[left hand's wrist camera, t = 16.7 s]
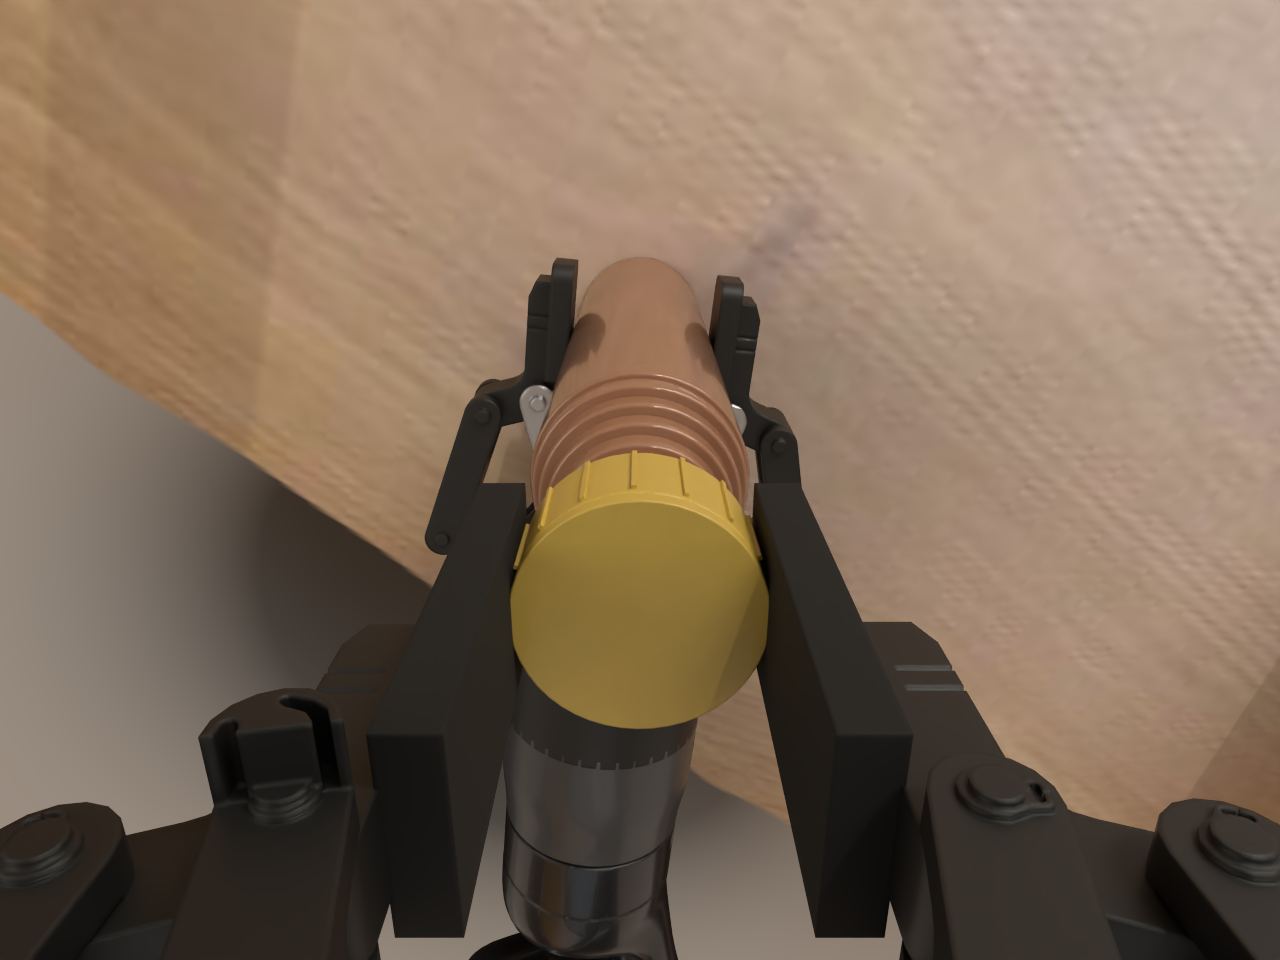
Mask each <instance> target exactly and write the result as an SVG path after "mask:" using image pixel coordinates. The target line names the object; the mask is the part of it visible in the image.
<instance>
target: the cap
mask: <svg viewBox="0 0 1280 960" xmlns="http://www.w3.org/2000/svg"><path fill="white" fill-rule="evenodd" d="M761 560H763V557H762V554H761V550H760V547H759V543H758V540H757V536H756V533H755V530H754V526H753V523H752V519H751V517H750V515H748V516H746V515H745V513H744V511H743V509H742V507H741V506H740V504H739V503H738V501H737V500H736V498H735V497H734V496H733V495H732V494H731V492H730V491H729V490H728V489H727V487H726V483H725V482H724V481H723V480H721V481H720V482H719V481H718V480H717V479H716V478H715V477H713V476H712V475H710V474H709V473H707V472H706V471H704V470H703V469H701V468H699V467H697V466H695V465H693V464H691V463H688V462H686V461H685V458H683V457H680V459H677V458H674V457H669V456H664V455H660V454H653V453H637V450H633V451H632V453H628V454H621V455H613V456H609V457H606V458H603V459H600V460H596V461H594V462H592V463H590V461H587V462H585V464H584V466H582V467H581V468H579V469H577V470H575V471H574V472H572V473H571V474H569V475H568V476H566V477H565V478H564V479H563V480H561V481H560V482H559V483H558V484H556V485H555V487H554V488H552V487H549V488H548V489H547V492H546V496H545V498H544V499H543V501H542V502H541V503H540V505H539V506H538V508H537V510H536V512H535V514H534V516H533V517H532V520H531V522H530V524H526V525H525V528H524V532H523V535H522V539H521V542H520V546H519V549H518V552H517V556H516V559H515V563H514V566H513V569H515V570H516V573H515V577H514V580H513V584H512V587H511V592H510V602H511V618H512V634H513V646H514V649H515V652H516V654H517V656H518V659H519V661H520V663H521V664H522V666H523V668H524V669H525V671H526V672H527V674H528V675H529V677H530V678H531V679H532V680H533V682H534V683H535V684H536V685H537V687H539V688H540V689H541V690H542V691H543V692H544V693H545V694H546V695H547V696H548V697H549V698H551V699H552V700H553V701H555V702H556V703H557V704H559V705H560V706H561V707H563V708H565V709H567V710H568V711H570V712H572V713H574V714H576V715H578V716H580V717H583V718H585V719H587V720H590V721H593V722H597V723H600V724H603V725H608V726H613V727H619V728H630V729H651V728H660V727H666V726H672V725H675V724H679V723H683V722H686V721H689V720H692V719H694V718H697V717H699V716H701V715H703V714H705V713H707V712H709V711H711V710H713V709H715V708H716V707H718V706H719V705H721V704H722V703H724V702H725V701H727V700H728V699H729V698H730V697H731V696H732V695H733V694H735V693H736V692H737V691H738V690H739V689H740V688H741V687H742V686H743V684H744V683H745V682H746V681H747V680H748V679H749V677H750V676H751V674H752V673H753V671H754V670H755V668H756V667H757V665H758V663H759V661H760V659H761V657H762V655H763V653H764V651H765V648H766V640H767V625H768V609H769V590H768V587H767V583H766V579H765V576H764V572H763V569H762V565H761V562H760V561H761Z"/></svg>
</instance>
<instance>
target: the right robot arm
mask: <svg viewBox="0 0 1280 960" xmlns="http://www.w3.org/2000/svg"><path fill="white" fill-rule="evenodd" d="M577 275H578V260H575V259H565V258H556V260H555V261H554V263H553V267H552V274H551V275H540V276H539V278H538V279H537V280H536V282H535V284H534V286H533V289H532V291H531V293H530V295H529V300H528V319H527V338H526V356H525V371H524V372H523V373H522V374H520V375H519V376H517V377H514V378H510V379H506V380H502V381H500V380H497V379H489V380H486V381H484V382H483V383H482V384H481V385H480V386H479V388H478V389H477V391H476V393H475V396H474V398H473V399H471V400H470V402H469V403H468V405H467V406H466V408H465V411H464V414H463V417H462V421H461V424H460V427H459V430H458V433H457V436H456V439H455V442H454V446H453V449H452V452H451V455H450V458H449V461H448V464H447V467H446V471H445V474H444V477H443V480H442V483H441V486H440V489H439V493H438V496H437V499H436V502H435V505H434V508H433V511H432V514H431V518H430V521H429V524H428V527H427V530H426V533H425V542H426V545H427V546H428V548H429V549H430V550H431V551H433V552H435V553H437V554H441V555H447V554H448V553H449V550H450V548H451V546H452V544H453V542H454V539H455V537H456V535H457V533H458V531H459V528H460V526H461V524H462V522H463V520H464V517H465V515H466V513H467V511H468V509H469V506H470V504H471V502H472V500H473V498H474V495H475V493H476V491H477V489H478V487H479V484H480V483H483V481H484V478H485V475H486V472H487V469H488V466H489V463H490V460H491V457H492V454H493V451H494V448H495V445H496V442H497V439H498V436H499V433H500V430H501V428H502V426H506V425H510V424H514V423H519V422H523V421H524V422H525V425H526V429H527V432H528V436H529V439H530V442H531V446H532V449H534V445H535V442H536V439H537V436H538V433H539V430H540V427H541V424H542V421H543V418H544V415H545V412H546V409H547V406H548V404H549V401H550V398H551V395H552V392H553V389H554V386H555V383H556V380H557V377H558V374H559V371H560V368H561V365H562V362H563V359H564V356H565V353H566V350H567V347H568V344H569V341H570V338H571V336H572V333H573V329H574V316H575V302H576V289H577ZM743 294H744V285H743V282H742V281H741V280H740V278H739V277H731V276H721V275H718V277H717V280H716V286H715V293H714V301H713V308H712V316H711V323H710V330H709V340H710V343H711V346H712V349H713V352H714V355H715V358H716V361H717V364H718V367H719V370H720V372H721V375H722V378H723V381H724V384H725V387H726V390H727V393H728V396H729V399H730V402H731V405H732V408H733V411H734V414H735V417H736V420H737V423H738V426H739V429H740V432H741V435H742V438H743V441H744V444H745V446H747V447H749V448H751V449H754V450H755V453H756V462H757V470H758V479H759V483H799V484H800V486H801V477H800V466H799V456H798V446H797V440H796V438H795V436H794V434H793V432H792V430H791V428H790V426H789V424H788V422H787V420H786V418H785V416H784V415H783V413H782V412H781V411H780V410H778V409H776V408H771V407H769V408H767V407H765V406H763V405H761V404H759V403H757V402H755V401H753V400H752V399H751V398H750V397H749V389H750V383H751V376H752V370H753V364H754V357H755V350H756V345H757V337H758V332H759V325H760V318H759V314H758V310H757V305H756V303H755V302H754V300H753V299H752V298H751V297H747V296H743ZM801 488H802V487H801ZM526 512H527V524H530V522H531V520H532V517H533V516H534V514H535V512H536V511H535V508H534V503H532V504H531V505H530V506H529V507H528V508H527V509H526ZM751 519H752V520H753V517H752V518H751ZM697 720H698V717H697V718H694V719H692V720H689V721H686V722H683V723H679V724H675V725H672V726H666V727H660V728H651V729H630V728H619V727H613V726H608V725H603V724H600V723H597V722H593V721H590V720H587V719H585V718H583V717H580V716H578V715H576V714H574V713H572V712H570V711H568V710H567V709H565V708H563V707H561V706H560V705H559V704H557V703H556V702H555V701H553V700H552V699H551V698H549V697H548V696H547V695H546V694H545V693H544V692H543V691H542V690H541V689H540V688H539V687H537V685H536V684H535V683H534V682H533V680H532V679H531V678H530V677H529V675H528V674H527V672H526V671H525V669H524V668H523V669H522V674H521V678H520V683H519V687H518V692H517V697H516V701H515V706H514V710H513V715H512V720H511V724H510V729H509V733H508V738H507V742H506V747H505V752H504V756H503V768H504V778H505V785H506V795H507V806H506V824H505V841H504V853H503V873H502V883H503V894H504V901H505V905H506V908H507V911H508V913H509V916H510V918H511V920H512V922H513V924H514V925H515V927H516V928H517V930H518V931H519V932H520V933H517V934H514V935H511V936H508V937H505V938H502V939H499V940H496V941H494V942H491V943H490V944H488V945H486V946H484V947H482V948H481V949H479V950H478V951H477V952H475V953H474V954H473V955H472V956H471V958H470V959H469V960H678V958H677V954H676V950H675V945H674V940H673V935H672V928H671V920H670V912H669V904H668V895H667V883H666V878H667V873H668V867H669V860H670V853H671V846H672V840H673V833H674V827H675V820H676V815H677V810H678V807H679V804H680V801H681V798H682V795H683V793H684V790H685V786H686V783H687V779H688V775H689V770H690V764H691V757H692V751H693V745H694V739H695V732H696V726H697Z"/></svg>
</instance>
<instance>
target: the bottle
mask: <svg viewBox="0 0 1280 960" xmlns="http://www.w3.org/2000/svg"><path fill="white" fill-rule="evenodd" d="M633 450H637V453H653V454H660V455H664V456H669V457H674V458H677V459H680V457H683V458H685V461H686V462H688V463H691V464H693V465H695V466H697V467H699V468H701V469H703V470H704V471H706V472H707V473H709V474H710V475H712V476H713V477H715V478H716V479H717V480H718V481H719V482H720V481H721V480H723V481H724V482H725V483H726V487H727V489H728V490H729V491H730V492H731V494H732V495H733V496H734V497H735V498H736V500H737V501H738V503H739V504H740V506H741V507H742V509H743V511H744V510H745V505H746V500H747V493H748V487H749V461H748V456H747V451H746V447H745V444H744V441H743V438H742V435H741V432H740V429H739V426H738V423H737V420H736V417H735V414H734V411H733V408H732V405H731V402H730V399H729V396H728V393H727V390H726V387H725V384H724V381H723V378H722V375H721V372H720V370H719V367H718V364H717V361H716V358H715V355H714V352H713V349H712V346H711V343H710V340H709V337H708V334H707V331H706V328H705V325H704V322H703V319H702V316H701V313H700V310H699V307H698V304H697V301H696V299H695V296H694V293H693V291H692V289H691V287H690V285H689V284H688V282H687V281H686V280H685V278H684V277H683V276H682V275H681V274H680V273H679V272H678V271H677V270H675V269H674V268H673V267H671V266H669V265H668V264H666V263H664V262H661V261H659V260H655V259H651V258H644V257H636V258H628V259H624V260H621V261H618V262H616V263H614V264H612V265H610V266H609V267H607V268H606V269H604V270H603V271H602V272H601V273H600V274H599V275H598V276H597V277H596V278H595V279H594V280H593V282H592V283H591V285H590V286H589V288H588V290H587V292H586V295H585V297H584V300H583V303H582V306H581V309H580V312H579V315H578V318H577V321H576V324H575V327H574V330H573V333H572V336H571V338H570V341H569V344H568V347H567V350H566V353H565V356H564V359H563V362H562V365H561V368H560V371H559V374H558V377H557V380H556V383H555V386H554V389H553V392H552V395H551V398H550V401H549V404H548V406H547V409H546V412H545V415H544V418H543V421H542V424H541V427H540V430H539V433H538V436H537V439H536V442H535V445H534V449H533V453H532V457H531V467H530V480H531V489H532V497H533V503H534V508H535V511H536V510H537V508H538V506H539V505H540V503H541V502H542V501H543V499H544V498H545V496H546V492H547V489H548V488H549V487H552V488H554V487H555V485H556V484H558V483H559V482H560V481H561V480H563V479H564V478H565V477H566V476H568V475H569V474H571V473H572V472H574V471H575V470H577V469H579V468H581V467H582V466H584V464H585V462H587V461H590V463H592V462H594V461H596V460H600V459H603V458H606V457H609V456H613V455H621V454H628V453H632V451H633Z"/></svg>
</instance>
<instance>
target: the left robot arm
mask: <svg viewBox="0 0 1280 960" xmlns="http://www.w3.org/2000/svg"><path fill="white" fill-rule="evenodd" d="M752 523H753V526H754V530H755V533H756V536H757V540H758V543H759V547H760V550H761V554H762V557H763V560H761V561H760V562H761V565H762V569H763V572H764V576H765V579H766V583H767V587H768V590H769V609H768V625H767V640H766V648H765V651H764V653H763V655H762V657H761V659H760V661H759V663H758V665H757V672H758V676H759V681H760V685H761V690H762V694H763V699H764V704H765V708H766V713H767V717H768V722H769V727H770V731H771V736H772V740H773V745H774V750H775V754H776V759H777V763H778V768H779V772H780V777H781V782H782V786H783V791H784V795H785V800H786V805H787V809H788V814H789V818H790V823H791V828H792V832H793V837H794V841H795V846H796V850H797V855H798V860H799V864H800V869H801V873H802V878H803V883H804V887H805V892H806V896H807V901H808V906H809V910H810V915H811V919H812V924H813V928H814V933H815V937H816V938H884V937H885V930H886V923H887V916H888V909H889V902H891V905H892V908H893V911H894V914H895V917H896V920H897V924H898V926H899V930H900V933H901V936H902V946H901V952H900V959H899V960H1280V825H1279V824H1277V823H1275V822H1273V821H1271V820H1269V819H1267V818H1265V817H1263V816H1262V815H1260V814H1258V813H1256V812H1254V811H1251V810H1248V809H1245V808H1242V807H1238V806H1235V805H1232V804H1229V803H1226V802H1223V801H1214V800H1204V799H1189V800H1184V801H1179V802H1174V803H1171V804H1170V805H1169V806H1168V807H1167V808H1166V809H1165V810H1164V811H1163V812H1161V813H1160V814H1159V818H1158V821H1157V825H1156V828H1155V832H1152V831H1147V830H1143V829H1139V828H1134V827H1130V826H1125V825H1121V824H1117V823H1112V822H1108V821H1103V820H1099V819H1095V818H1092V817H1088V816H1085V815H1082V814H1078V813H1075V812H1073V811H1070V810H1068V809H1067V806H1066V804H1065V803H1064V801H1063V799H1062V798H1061V796H1060V795H1059V793H1058V792H1057V790H1056V788H1055V787H1054V786H1053V785H1052V784H1051V783H1049V782H1048V781H1047V780H1046V779H1044V778H1043V777H1042V776H1041V775H1040V774H1038V773H1037V772H1036V771H1035V770H1033V769H1031V768H1028V767H1026V766H1024V765H1022V764H1020V763H1018V762H1016V761H1014V760H1012V759H1009V758H1005V756H1004V754H1003V753H1002V751H1001V749H1000V748H999V746H998V744H997V742H996V741H995V739H994V737H993V736H992V734H991V732H990V730H989V729H988V727H987V725H986V724H985V722H984V720H983V718H982V717H981V715H980V713H979V712H978V710H977V708H976V707H975V705H974V703H973V701H972V700H971V698H970V696H969V695H968V693H967V691H964V689H963V684H962V683H961V681H960V679H959V677H958V676H957V674H956V672H955V671H952V666H951V664H950V662H949V660H948V659H947V657H946V655H945V654H944V652H943V650H942V648H941V647H940V645H939V643H938V642H937V641H935V640H934V639H933V638H931V637H930V636H929V635H928V634H926V633H925V632H924V631H922V630H921V629H920V628H918V627H917V626H916V625H914V624H913V623H912V622H862V620H861V618H860V615H859V613H858V611H857V609H856V607H855V604H854V602H853V600H852V598H851V596H850V593H849V591H848V589H847V587H846V585H845V582H844V580H843V578H842V576H841V574H840V571H839V569H838V567H837V565H836V563H835V560H834V558H833V556H832V554H831V552H830V549H829V547H828V545H827V543H826V541H825V538H824V536H823V534H822V532H821V530H820V527H819V525H818V523H817V521H816V519H815V517H814V514H813V512H812V510H811V508H810V506H809V503H808V501H807V499H806V497H805V495H804V492H803V490H802V488H801V486H800V484H799V483H754V501H753V520H752ZM526 524H527V512H526V493H525V483H480V484H479V487H478V489H477V491H476V493H475V495H474V498H473V500H472V502H471V504H470V506H469V509H468V511H467V513H466V515H465V517H464V520H463V522H462V524H461V526H460V528H459V531H458V533H457V535H456V537H455V539H454V542H453V544H452V546H451V548H450V550H449V553H448V555H447V557H446V559H445V561H444V564H443V566H442V568H441V570H440V572H439V575H438V577H437V579H436V581H435V583H434V586H433V588H432V590H431V592H430V594H429V597H428V599H427V601H426V603H425V605H424V608H423V610H422V612H421V614H420V616H419V619H418V621H417V623H416V625H368V626H366V627H365V628H364V629H362V630H361V631H360V632H358V633H357V634H356V635H354V636H353V637H352V638H351V639H349V640H348V641H347V642H345V643H344V644H343V645H342V646H341V648H340V649H339V651H338V653H337V654H336V656H335V658H334V660H333V661H332V663H331V665H330V666H329V668H328V674H325V675H324V677H323V678H322V680H321V682H320V684H319V685H318V687H317V689H316V690H317V691H316V690H313V689H309V688H284V689H279V690H274V691H270V692H265V693H261V694H257V695H254V696H252V697H249V698H247V699H245V700H243V701H240V702H238V703H235V704H233V705H231V706H230V707H228V708H227V709H225V710H224V711H223V712H221V713H220V714H219V715H217V716H216V717H214V718H213V719H212V720H211V721H210V722H209V723H208V725H207V726H206V727H205V729H204V730H203V731H202V733H201V734H200V735H199V737H198V739H199V743H200V747H201V751H202V756H203V760H204V764H205V769H206V773H207V777H208V782H209V786H210V790H211V794H212V799H213V803H214V808H213V810H212V813H211V814H208V815H206V816H203V817H199V818H196V819H193V820H190V821H186V822H183V823H178V824H174V825H170V826H166V827H161V828H157V829H152V830H148V831H143V832H139V833H135V834H131V835H126V834H125V831H124V827H123V824H122V820H121V818H120V817H119V816H118V815H117V814H116V813H115V812H114V811H113V810H112V809H110V808H109V807H108V806H103V805H98V804H94V803H88V802H83V803H72V804H63V805H57V806H53V807H50V808H47V809H44V810H41V811H38V812H35V813H31V814H28V815H26V816H24V817H22V818H20V819H18V820H17V821H15V822H13V823H11V824H9V825H7V826H5V827H3V828H1V829H0V960H381V959H380V953H379V946H378V938H379V935H380V932H381V929H382V926H383V923H384V920H385V917H386V914H387V911H388V907H389V904H390V906H391V913H392V920H393V927H394V934H395V938H464V935H465V930H466V926H467V921H468V917H469V912H470V908H471V903H472V898H473V894H474V889H475V885H476V880H477V875H478V871H479V866H480V862H481V857H482V853H483V848H484V843H485V839H486V834H487V830H488V825H489V820H490V816H491V811H492V807H493V802H494V798H495V793H496V788H497V783H498V779H499V774H500V770H501V765H502V761H503V756H504V752H505V747H506V742H507V738H508V733H509V729H510V724H511V720H512V715H513V710H514V706H515V701H516V697H517V692H518V687H519V683H520V678H521V674H522V669H523V666H522V664H521V663H520V661H519V659H518V656H517V654H516V652H515V649H514V646H513V634H512V618H511V602H510V592H511V587H512V584H513V580H514V577H515V573H516V570H515V569H513V566H514V563H515V559H516V556H517V552H518V549H519V546H520V542H521V539H522V535H523V532H524V528H525V525H526Z"/></svg>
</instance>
